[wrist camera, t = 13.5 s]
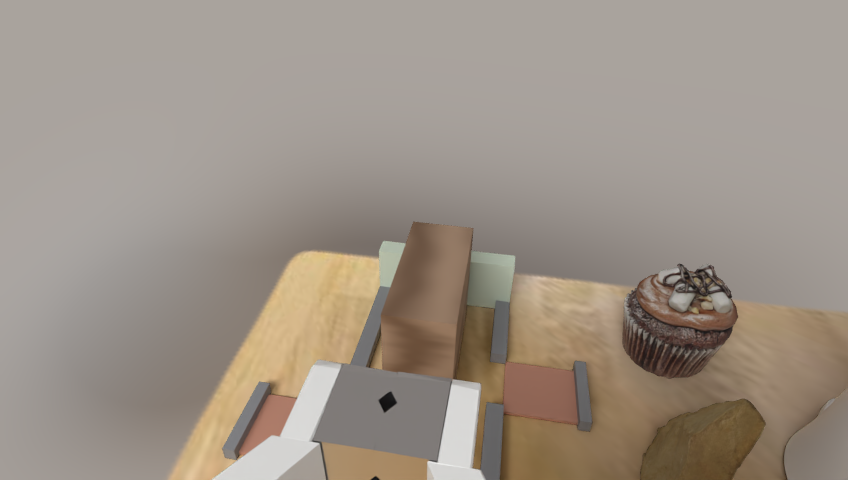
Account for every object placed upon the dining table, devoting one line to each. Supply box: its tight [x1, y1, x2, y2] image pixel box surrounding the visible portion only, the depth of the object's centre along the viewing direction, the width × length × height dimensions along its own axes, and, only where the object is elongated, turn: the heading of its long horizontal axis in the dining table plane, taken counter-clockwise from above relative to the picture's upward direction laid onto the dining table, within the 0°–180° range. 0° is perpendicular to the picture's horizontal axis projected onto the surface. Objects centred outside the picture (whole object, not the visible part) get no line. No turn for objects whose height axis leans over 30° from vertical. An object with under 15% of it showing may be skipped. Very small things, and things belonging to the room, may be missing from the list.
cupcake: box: [623, 264, 738, 379], centre depth 52 cm, size 10×10×10 cm
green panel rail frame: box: [222, 241, 592, 480], centre depth 46 cm, size 30×33×6 cm
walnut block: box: [381, 222, 473, 381], centre depth 50 cm, size 6×14×11 cm, turn 170°
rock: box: [640, 399, 766, 480], centre depth 40 cm, size 11×9×10 cm
